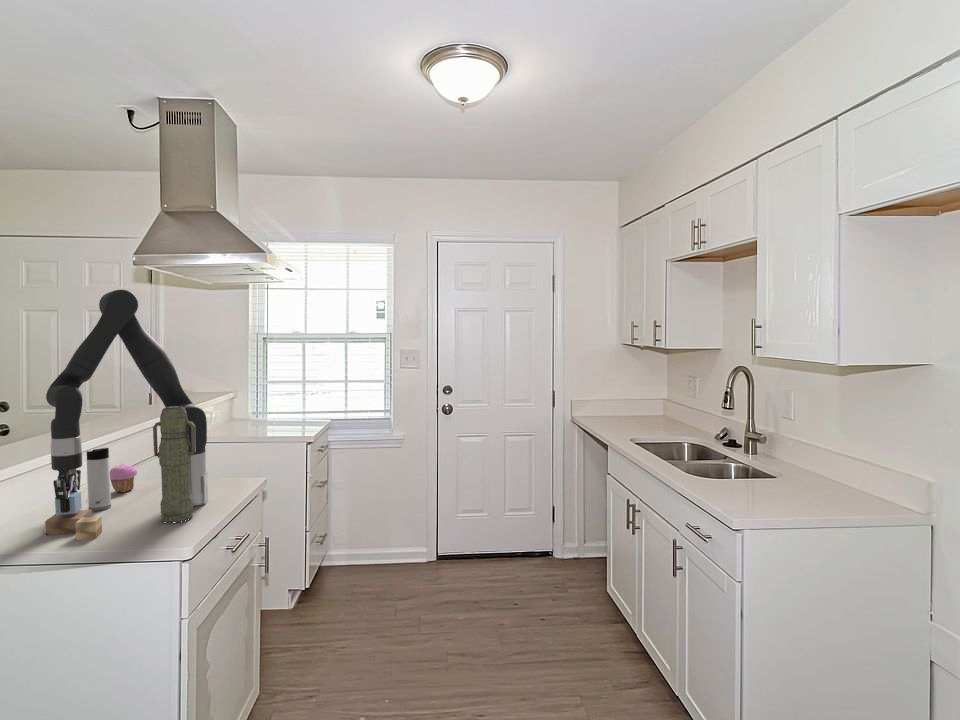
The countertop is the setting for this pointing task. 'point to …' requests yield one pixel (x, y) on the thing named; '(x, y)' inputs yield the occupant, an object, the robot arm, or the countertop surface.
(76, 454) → the robot arm
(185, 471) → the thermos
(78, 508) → the slate block
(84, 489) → the countertop surface
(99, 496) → the travel mug
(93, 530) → the oak block
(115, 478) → the cupcake
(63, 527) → the walnut plinth
